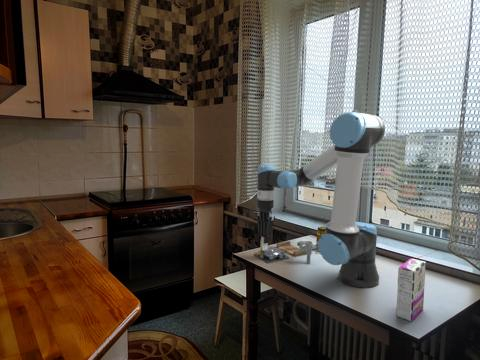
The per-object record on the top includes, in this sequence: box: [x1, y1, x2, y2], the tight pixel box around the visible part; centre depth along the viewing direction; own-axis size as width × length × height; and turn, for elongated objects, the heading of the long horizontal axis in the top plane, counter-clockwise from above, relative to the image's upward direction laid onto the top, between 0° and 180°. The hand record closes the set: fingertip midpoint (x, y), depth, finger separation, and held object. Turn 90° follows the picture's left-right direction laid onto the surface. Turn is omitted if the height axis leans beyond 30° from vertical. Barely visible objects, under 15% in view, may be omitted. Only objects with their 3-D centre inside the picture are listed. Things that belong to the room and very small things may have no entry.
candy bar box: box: [396, 258, 427, 322], centre depth 105 cm, size 11×5×16 cm, turn 135°
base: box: [253, 252, 290, 264], centre depth 156 cm, size 12×12×1 cm
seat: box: [276, 240, 307, 258], centre depth 164 cm, size 15×8×2 cm, turn 29°
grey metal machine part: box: [257, 241, 286, 259], centre depth 155 cm, size 13×13×8 cm
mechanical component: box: [296, 240, 319, 265], centre depth 147 cm, size 3×10×10 cm, turn 89°
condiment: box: [313, 226, 326, 254], centre depth 164 cm, size 7×8×12 cm
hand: (264, 249), depth 151 cm, fingers closed
